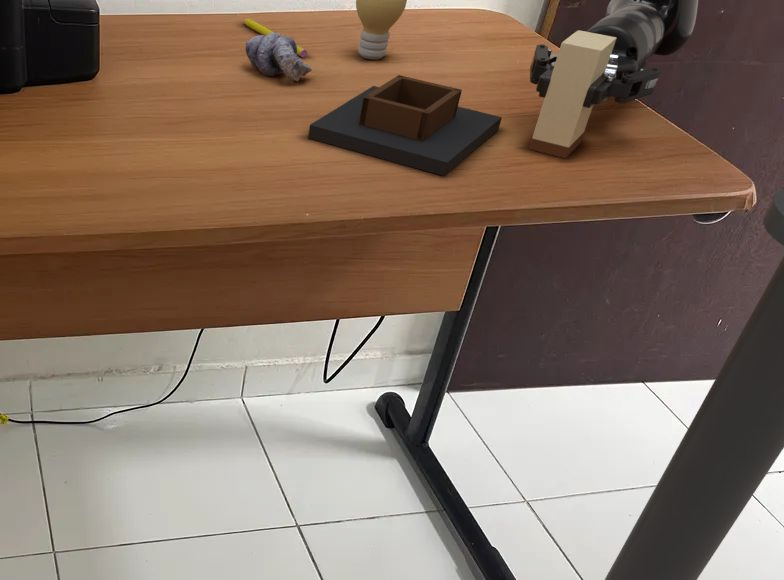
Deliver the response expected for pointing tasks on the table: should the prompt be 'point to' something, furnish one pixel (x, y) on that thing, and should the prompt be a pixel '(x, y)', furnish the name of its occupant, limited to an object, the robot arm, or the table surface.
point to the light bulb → (377, 25)
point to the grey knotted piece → (276, 56)
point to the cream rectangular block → (570, 93)
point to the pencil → (266, 31)
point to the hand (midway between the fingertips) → (566, 92)
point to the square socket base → (408, 125)
